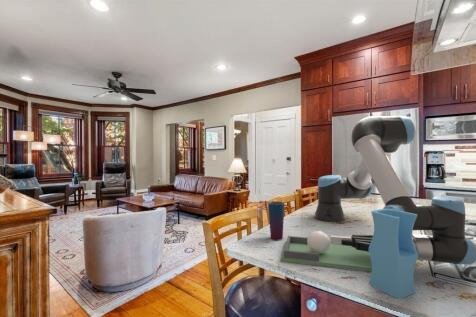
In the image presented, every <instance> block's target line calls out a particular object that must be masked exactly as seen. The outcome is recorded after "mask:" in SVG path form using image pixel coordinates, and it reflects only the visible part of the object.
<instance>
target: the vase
mask: <svg viewBox="0 0 476 317" xmlns="http://www.w3.org/2000/svg"><path fill="white" fill-rule="evenodd" d="M371 216H372V220H373V221H372V222H373V234H372V235H373V238H372V241H371V244H370V246H369V255H370V258H371V263H372V272H371V273H370V274H371V275H370V279H369V282H368V285H370V286H372V287H374V288H376V289H377V290H379V291H381V292H383V293H385V294H387V295H388V296H391V297H393V298H395V299H397V300H398V299H400V300H401V299H404V298H406V297H408V296H411V295H414V294H416V290H415V289H416V288H415V284H414V283H415V282H414V273H415V268H416V265H417V261H418V260H417V259H418V253H417V251H416V248H415V245H414V242H413V237H412V234H413V231H414V230H413V226H414V223H415V220H416V218H417V214H413V213H408V212H404V211H399V210H394V209H383V208H381V209H374V210H371Z"/></svg>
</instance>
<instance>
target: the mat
mask: <svg viewBox="0 0 476 317" xmlns="http://www.w3.org/2000/svg"><path fill="white" fill-rule="evenodd" d="M286 242H287V240H285V242H284V246H283V249H282V253H281V256H280V262H282V263H283V262H286V263H291V264H292V263H295V264H303V265H311V266H319V267H328V268H337V269H343V270H353V271H361V272H362V271H363V272H370V273H372V263H371V258H370V255H369V252H367V251H361V250H356V248H354V247H352V246H341V245H331V244H330V246H329V249H328V250H327V251H326V252H325V253H322V254H319V261H312V260H303V259H294V258H285V257H284V250H285V246H286ZM289 250H292V251H302V252H311V253H315V252H313V251H312V250H311V249H310V248H309V247H308V244H301V243H290V247H289Z"/></svg>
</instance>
